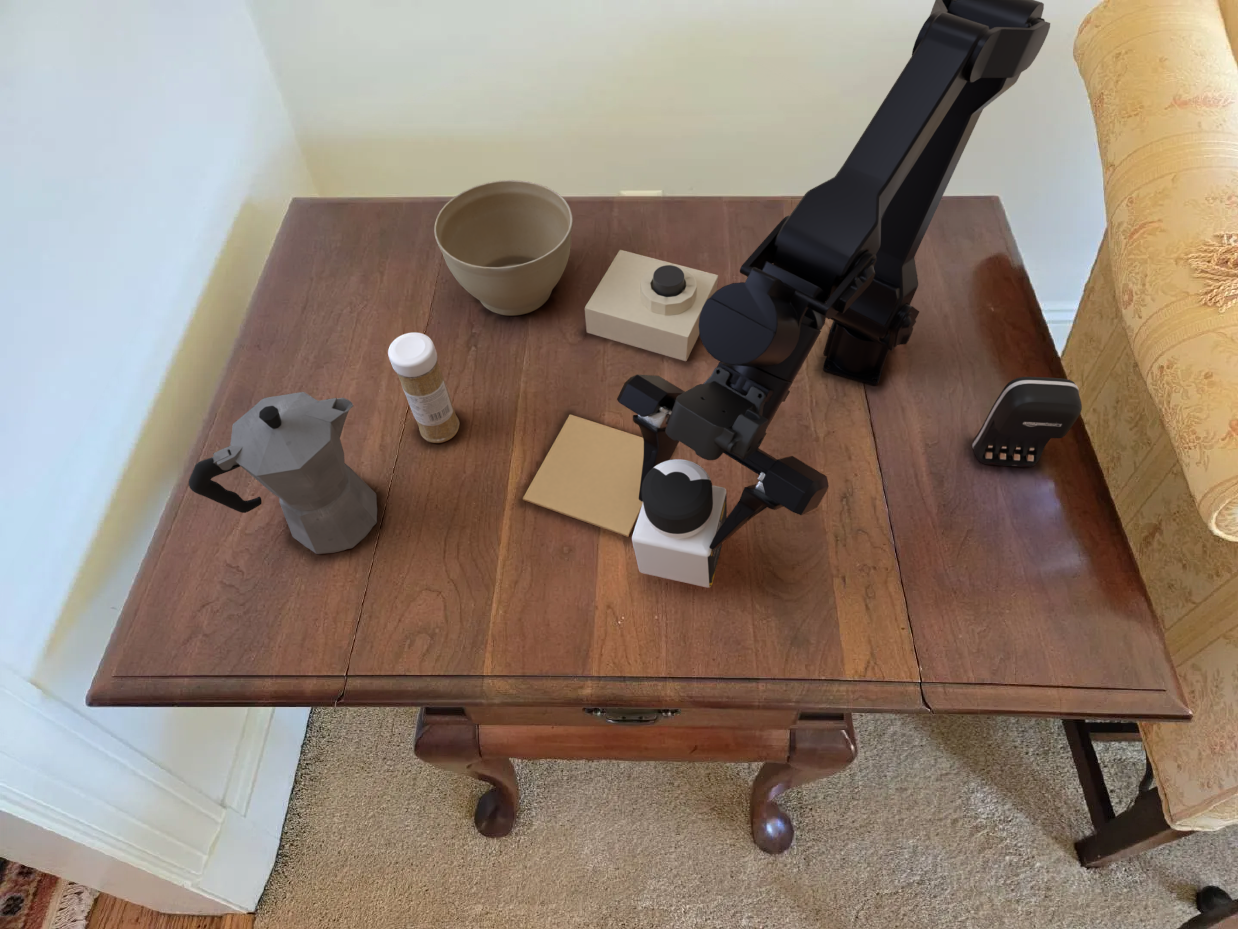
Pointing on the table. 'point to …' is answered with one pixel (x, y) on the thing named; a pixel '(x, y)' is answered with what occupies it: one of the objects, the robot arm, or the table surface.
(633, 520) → the cork mat
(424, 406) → the sprinkles bottle
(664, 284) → the power button
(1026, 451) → the battery charger
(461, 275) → the planter bowl
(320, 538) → the coffeepot
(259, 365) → the table surface
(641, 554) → the medicine bottle
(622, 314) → the push button box
